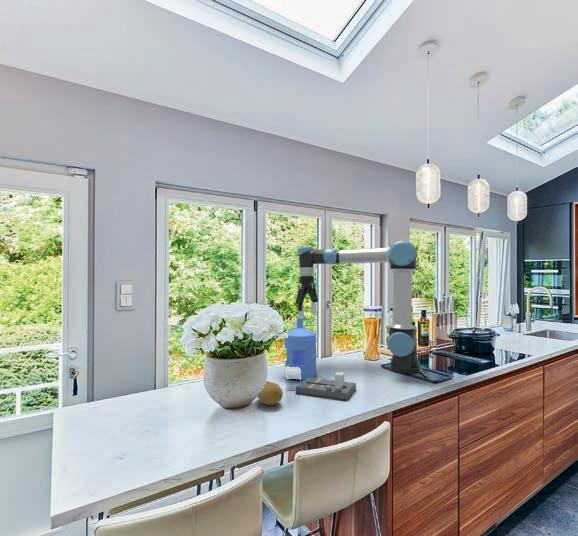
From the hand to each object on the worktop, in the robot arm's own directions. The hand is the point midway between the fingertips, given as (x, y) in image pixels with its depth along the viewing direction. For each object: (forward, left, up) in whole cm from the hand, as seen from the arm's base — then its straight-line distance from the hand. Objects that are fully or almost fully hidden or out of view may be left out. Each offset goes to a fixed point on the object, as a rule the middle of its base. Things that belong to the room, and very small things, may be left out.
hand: (307, 315), depth 191 cm
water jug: (-2, +15, -28) cm, 32 cm away
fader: (-27, +32, -26) cm, 49 cm away
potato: (-5, +53, -28) cm, 60 cm away
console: (-21, +32, -28) cm, 47 cm away
